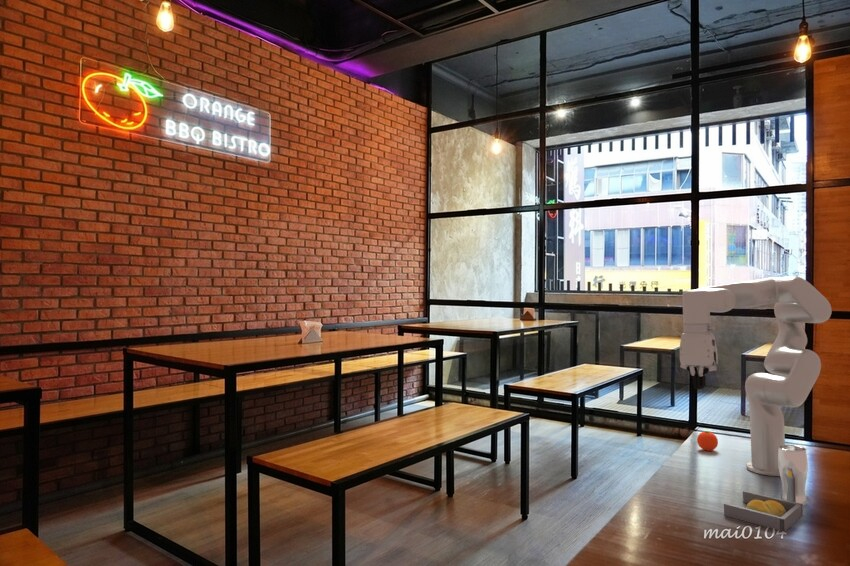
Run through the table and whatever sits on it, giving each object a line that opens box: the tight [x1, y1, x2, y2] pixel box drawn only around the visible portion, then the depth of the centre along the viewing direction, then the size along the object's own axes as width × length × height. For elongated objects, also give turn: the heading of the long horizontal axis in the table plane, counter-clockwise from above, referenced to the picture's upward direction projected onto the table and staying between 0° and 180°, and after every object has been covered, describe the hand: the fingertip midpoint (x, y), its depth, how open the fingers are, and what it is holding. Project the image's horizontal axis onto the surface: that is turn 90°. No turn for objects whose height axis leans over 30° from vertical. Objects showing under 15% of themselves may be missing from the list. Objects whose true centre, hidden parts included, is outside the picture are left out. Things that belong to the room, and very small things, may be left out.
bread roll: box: [745, 500, 786, 517], centre depth 145 cm, size 8×9×4 cm
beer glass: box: [778, 444, 809, 507], centre depth 154 cm, size 7×7×15 cm
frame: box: [723, 490, 804, 532], centre depth 145 cm, size 14×14×3 cm
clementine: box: [696, 430, 719, 452], centre depth 204 cm, size 8×7×7 cm
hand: (699, 388), depth 171 cm, fingers closed
